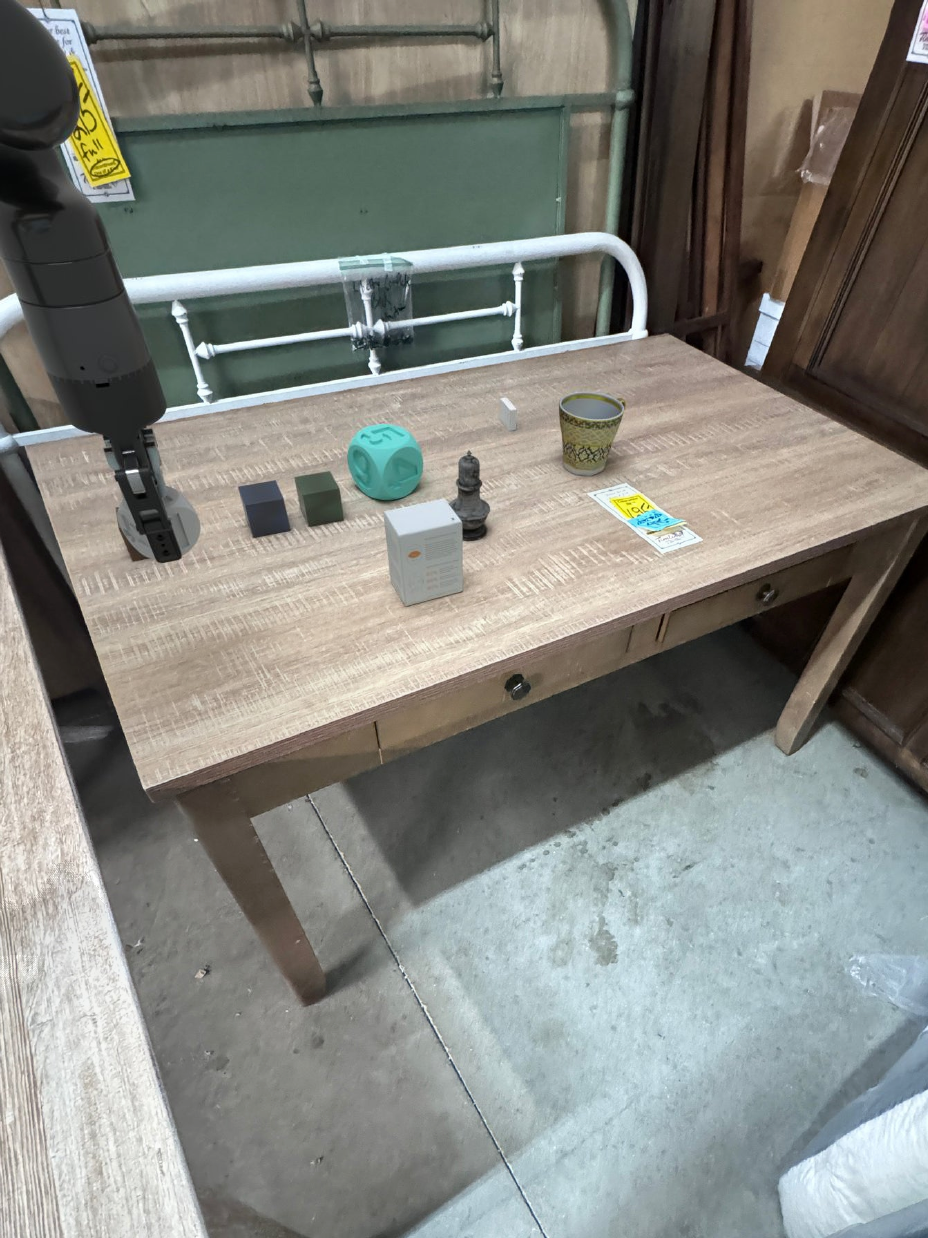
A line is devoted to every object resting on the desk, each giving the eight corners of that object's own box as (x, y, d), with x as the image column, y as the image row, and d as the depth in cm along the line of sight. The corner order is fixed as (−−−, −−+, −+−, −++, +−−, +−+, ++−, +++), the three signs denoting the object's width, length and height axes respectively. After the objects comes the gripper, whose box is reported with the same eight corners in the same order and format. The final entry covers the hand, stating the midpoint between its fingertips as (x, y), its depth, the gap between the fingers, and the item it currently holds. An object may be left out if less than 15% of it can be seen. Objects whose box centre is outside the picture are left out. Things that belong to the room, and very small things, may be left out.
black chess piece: (458, 545, 94) (457, 465, 85) (441, 523, 97) (439, 444, 89) (496, 536, 96) (499, 456, 87) (478, 515, 99) (479, 436, 91)
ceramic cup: (583, 488, 106) (592, 426, 99) (540, 462, 111) (545, 401, 104) (638, 464, 113) (650, 404, 105) (595, 440, 118) (604, 381, 110)
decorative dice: (425, 487, 104) (423, 437, 98) (384, 506, 100) (379, 455, 94) (391, 467, 107) (387, 418, 101) (349, 485, 103) (343, 434, 97)
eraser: (505, 417, 122) (506, 397, 119) (515, 430, 119) (517, 409, 116) (499, 418, 121) (499, 397, 119) (509, 431, 118) (510, 410, 116)
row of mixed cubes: (132, 561, 87) (118, 527, 84) (129, 540, 91) (115, 507, 87) (344, 519, 97) (339, 488, 93) (334, 502, 100) (329, 470, 96)
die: (163, 567, 63) (144, 520, 59) (128, 547, 65) (108, 501, 61) (207, 542, 66) (192, 496, 62) (173, 524, 68) (156, 478, 64)
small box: (447, 567, 90) (445, 496, 83) (464, 592, 87) (464, 520, 79) (389, 581, 88) (382, 509, 80) (404, 607, 84) (398, 535, 77)
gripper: (43, 327, 56) (118, 506, 68) (40, 401, 47) (127, 591, 59) (142, 318, 58) (198, 492, 70) (157, 387, 50) (218, 572, 62)
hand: (165, 537), depth 65 cm, fingers closed on die, 7 cm apart
